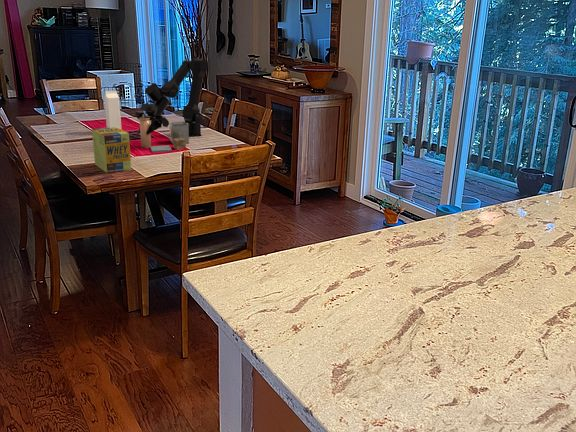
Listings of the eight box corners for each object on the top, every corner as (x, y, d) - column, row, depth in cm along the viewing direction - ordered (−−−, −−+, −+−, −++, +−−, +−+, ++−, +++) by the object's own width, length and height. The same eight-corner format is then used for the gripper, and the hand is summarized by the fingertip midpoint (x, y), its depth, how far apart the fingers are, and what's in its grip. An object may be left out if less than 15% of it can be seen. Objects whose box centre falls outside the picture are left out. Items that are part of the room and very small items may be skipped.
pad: (169, 146, 270) (169, 145, 269) (171, 151, 262) (171, 149, 261) (150, 147, 267) (150, 146, 266) (152, 152, 259) (152, 150, 258)
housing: (186, 139, 285) (185, 121, 281) (188, 143, 278) (188, 124, 274) (169, 140, 282) (168, 121, 279) (171, 144, 275) (171, 124, 272)
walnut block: (182, 146, 271) (181, 137, 269) (185, 148, 267) (185, 139, 266) (173, 147, 268) (173, 138, 267) (177, 149, 265) (176, 140, 263)
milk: (121, 133, 294) (118, 91, 287) (110, 134, 291) (106, 91, 283) (118, 131, 299) (115, 89, 291) (106, 132, 296) (103, 90, 288)
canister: (150, 145, 272) (149, 117, 267) (151, 147, 268) (150, 118, 263) (140, 145, 271) (138, 117, 266) (141, 147, 266) (139, 119, 262)
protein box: (107, 173, 225) (103, 135, 220) (94, 164, 237) (91, 128, 231) (132, 169, 231) (129, 133, 226) (118, 161, 243) (115, 126, 237)
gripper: (136, 94, 269) (119, 120, 264) (163, 98, 259) (146, 126, 255) (149, 108, 278) (133, 134, 273) (176, 113, 268) (160, 140, 264)
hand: (143, 133), depth 266 cm, fingers closed on canister, 5 cm apart
